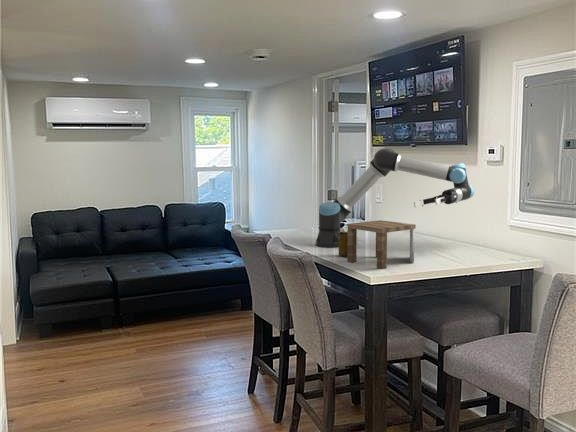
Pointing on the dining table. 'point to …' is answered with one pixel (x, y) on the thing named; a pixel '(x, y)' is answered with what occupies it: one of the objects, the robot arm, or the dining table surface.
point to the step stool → (381, 238)
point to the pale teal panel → (412, 245)
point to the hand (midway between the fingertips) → (425, 203)
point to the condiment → (343, 244)
